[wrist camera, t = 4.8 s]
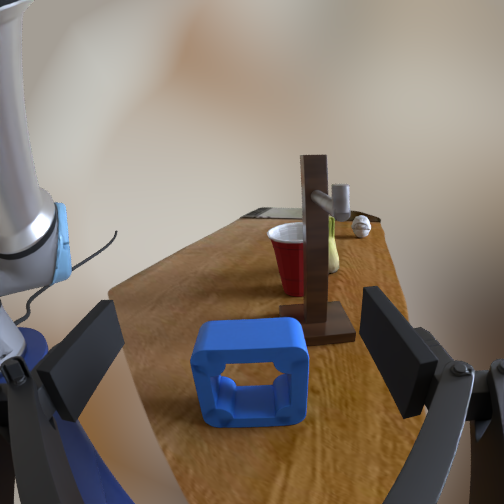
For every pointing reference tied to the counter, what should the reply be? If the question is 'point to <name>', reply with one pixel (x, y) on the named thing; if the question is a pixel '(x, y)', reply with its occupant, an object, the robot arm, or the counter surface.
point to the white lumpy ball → (361, 226)
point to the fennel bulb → (332, 248)
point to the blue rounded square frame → (251, 351)
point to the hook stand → (319, 256)
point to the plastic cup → (289, 256)
